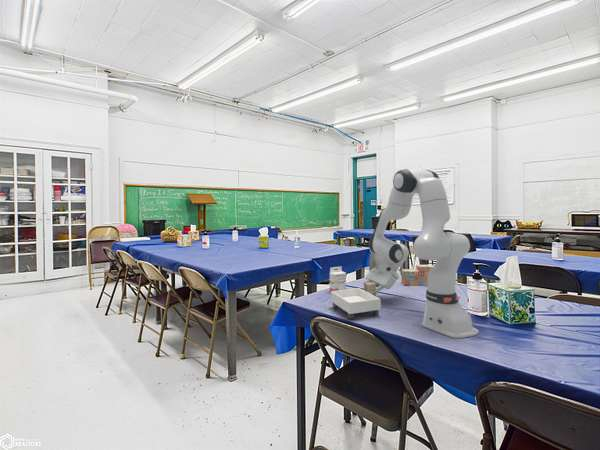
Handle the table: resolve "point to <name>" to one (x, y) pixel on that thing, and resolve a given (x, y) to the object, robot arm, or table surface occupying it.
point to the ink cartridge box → (337, 279)
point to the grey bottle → (375, 260)
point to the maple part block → (370, 287)
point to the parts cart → (355, 301)
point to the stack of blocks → (416, 275)
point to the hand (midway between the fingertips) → (370, 290)
